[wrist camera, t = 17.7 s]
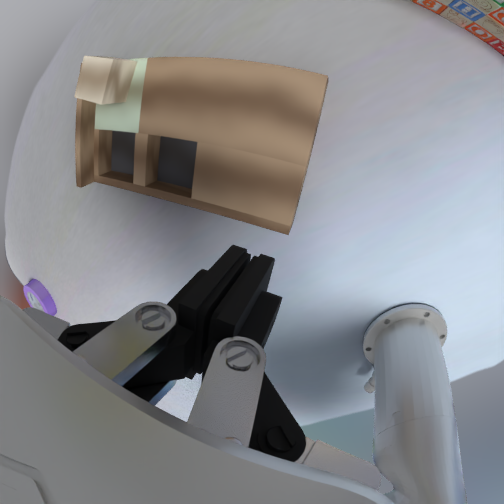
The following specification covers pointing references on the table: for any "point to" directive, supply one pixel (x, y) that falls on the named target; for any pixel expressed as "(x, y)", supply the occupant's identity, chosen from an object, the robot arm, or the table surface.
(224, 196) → the board
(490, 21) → the stack of blocks
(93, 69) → the birch block
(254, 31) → the table surface
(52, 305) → the masking tape
